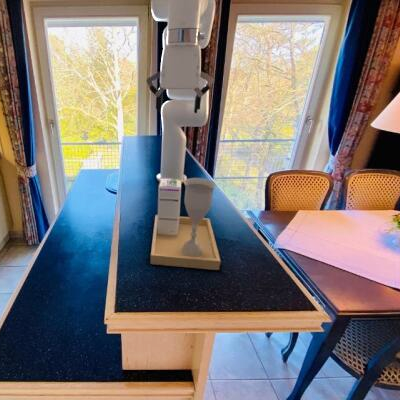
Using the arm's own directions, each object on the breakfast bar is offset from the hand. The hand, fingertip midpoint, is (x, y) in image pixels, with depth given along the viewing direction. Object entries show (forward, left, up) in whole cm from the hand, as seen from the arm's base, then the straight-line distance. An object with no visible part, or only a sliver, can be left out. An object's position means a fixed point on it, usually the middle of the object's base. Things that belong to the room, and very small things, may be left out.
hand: (177, 112), depth 72 cm
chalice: (+21, +5, -31) cm, 38 cm away
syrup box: (+12, -1, -31) cm, 33 cm away
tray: (+17, +3, -31) cm, 36 cm away
